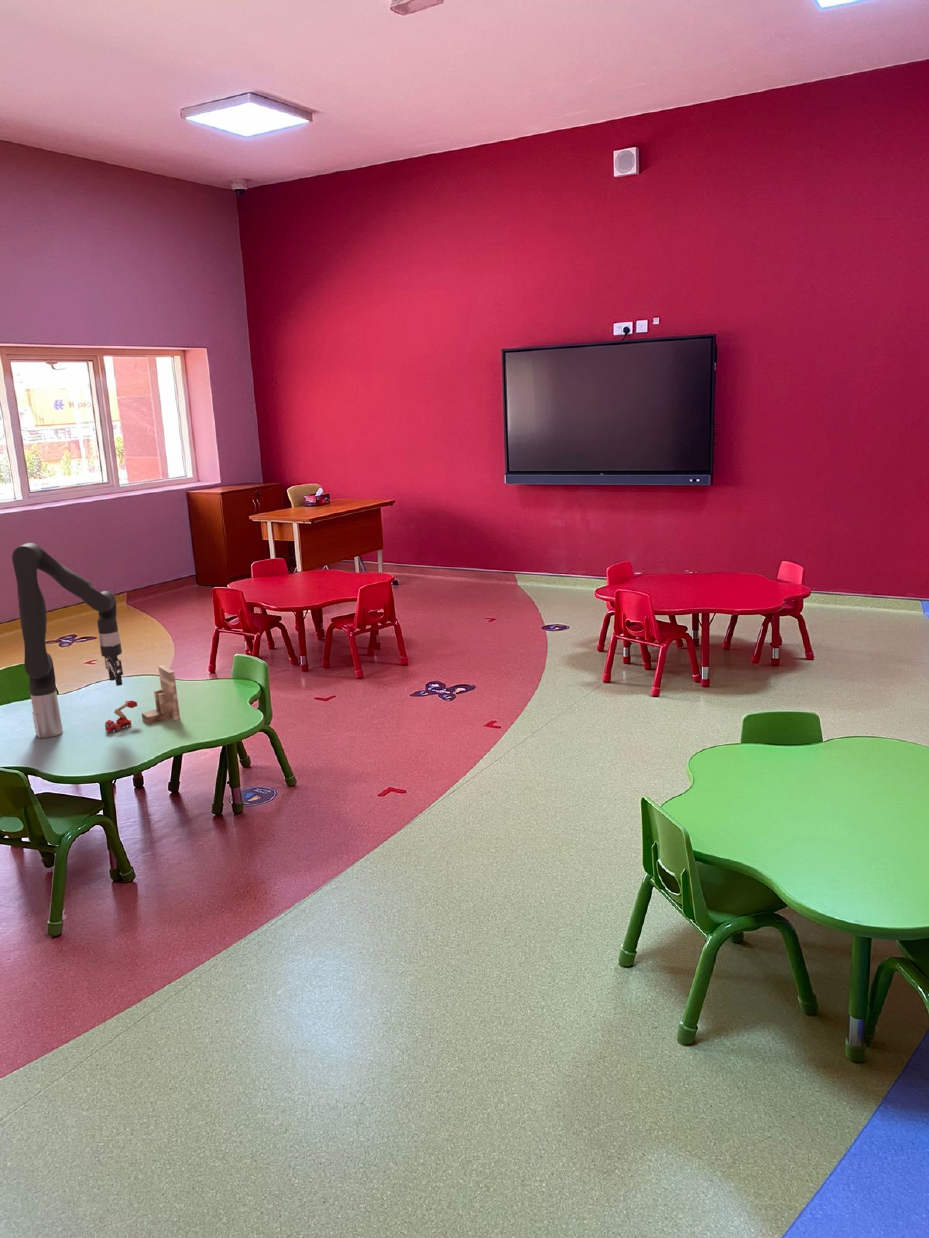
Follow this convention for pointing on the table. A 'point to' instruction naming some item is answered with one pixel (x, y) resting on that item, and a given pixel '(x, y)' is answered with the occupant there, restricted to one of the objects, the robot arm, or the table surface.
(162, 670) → the board
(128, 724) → the toy fire truck
